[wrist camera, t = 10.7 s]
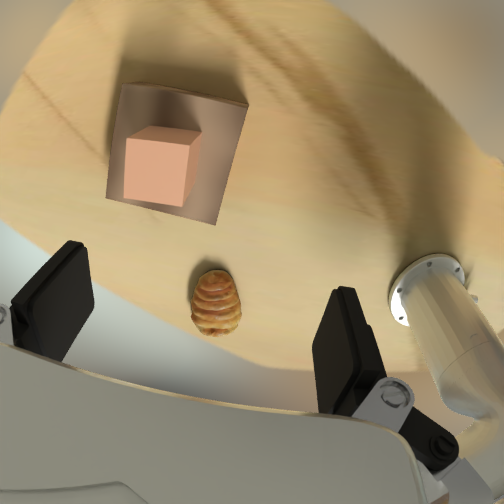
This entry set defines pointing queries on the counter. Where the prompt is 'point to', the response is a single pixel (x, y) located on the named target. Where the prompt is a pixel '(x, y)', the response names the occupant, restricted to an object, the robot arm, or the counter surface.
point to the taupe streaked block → (188, 118)
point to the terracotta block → (161, 164)
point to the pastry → (216, 304)
